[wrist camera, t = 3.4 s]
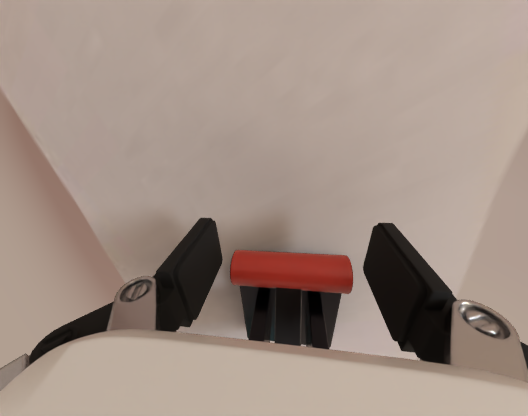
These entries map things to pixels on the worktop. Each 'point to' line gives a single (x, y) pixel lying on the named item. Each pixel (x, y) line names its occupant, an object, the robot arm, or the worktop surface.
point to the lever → (291, 282)
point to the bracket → (312, 315)
